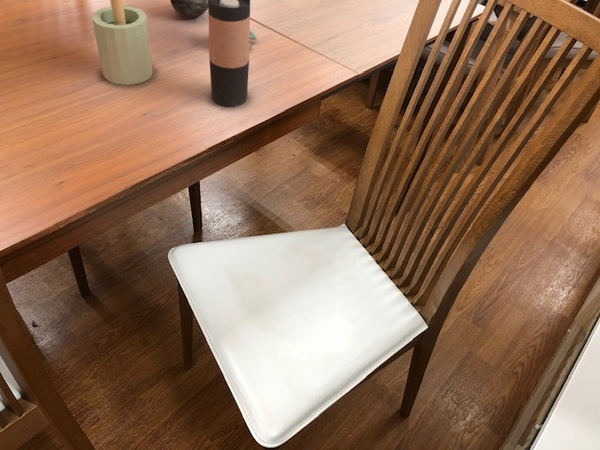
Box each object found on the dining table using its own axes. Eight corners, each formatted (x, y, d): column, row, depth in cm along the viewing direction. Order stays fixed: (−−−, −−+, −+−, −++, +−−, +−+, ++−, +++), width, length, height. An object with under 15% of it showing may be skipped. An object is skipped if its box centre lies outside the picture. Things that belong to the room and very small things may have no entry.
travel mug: (203, 93, 104) (199, -6, 90) (234, 84, 108) (234, -13, 94) (224, 111, 100) (223, 11, 86) (255, 100, 104) (259, 3, 90)
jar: (92, 73, 105) (80, 16, 97) (127, 56, 112) (119, 1, 103) (128, 90, 102) (119, 33, 94) (162, 71, 109) (156, 16, 100)
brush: (111, 69, 106) (93, -32, 91) (127, 61, 108) (111, -38, 94) (127, 76, 104) (111, -25, 90) (142, 68, 107) (129, -32, 93)
